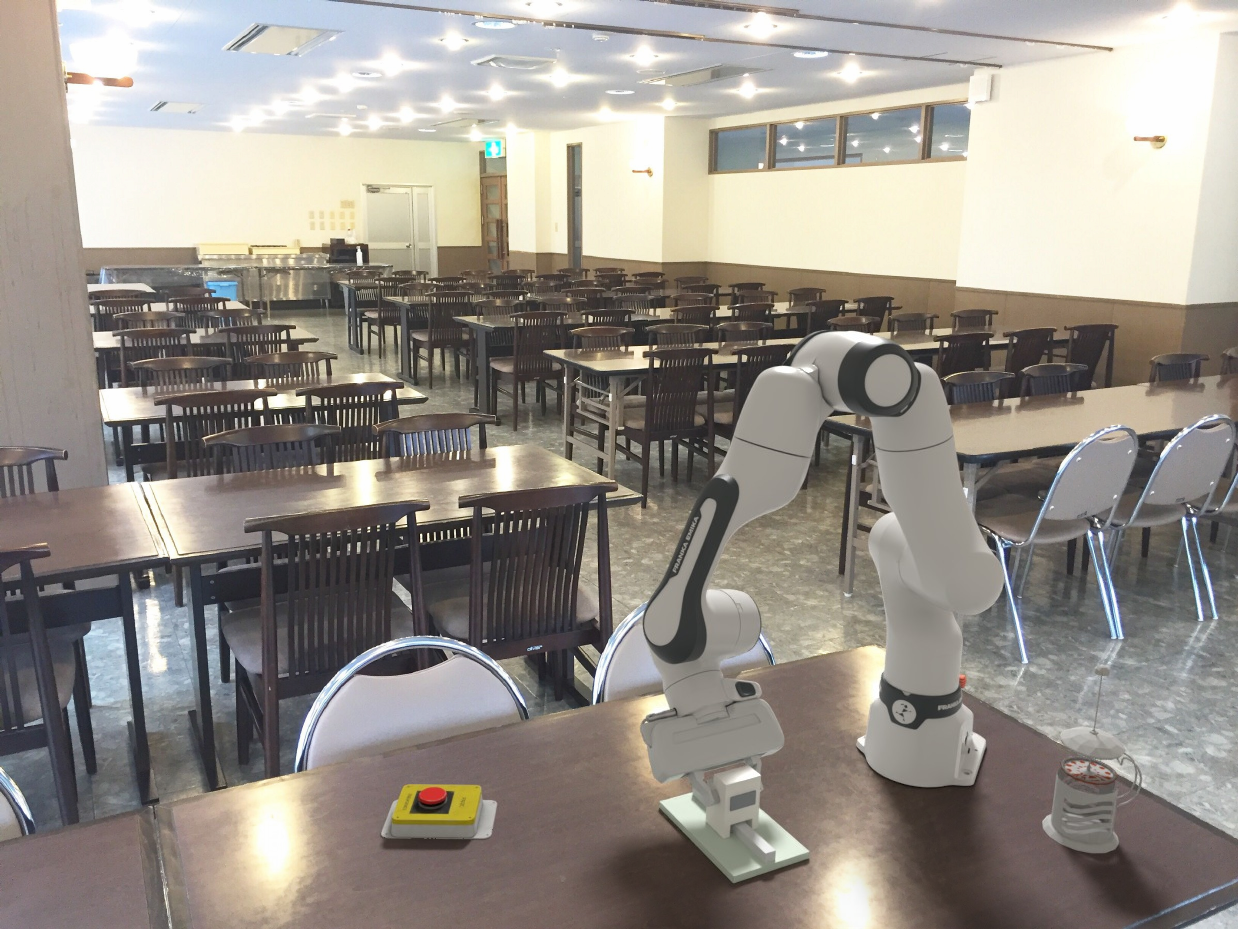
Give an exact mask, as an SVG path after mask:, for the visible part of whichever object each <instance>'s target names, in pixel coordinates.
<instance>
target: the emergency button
mask: <svg viewBox="0 0 1238 929" xmlns="http://www.w3.org/2000/svg"><path fill="white" fill-rule="evenodd" d="M482 794H483V791H482V786H480V785H478V784H431V783H430V784H428V783H427V784H425V783H424V784H421V783H420V784H419V783H414V784H413V783H412V784H411V783H410V784H405V785H403V787H402V789H401V791H400V794H399V796H398V799H396V800H394V801H393V802H392V803H391V806H390V809H389V811H388V814H387V816H386V819H385V822H384V824H383V827H382V829H381V832H380V835H381V836H380V837H382V838H384V837H385V838H384V839H411V838H424V839H425V840H426V839H427V838H429V839H430V840H431V838H433V839H434V840H435V838H436V839H437V840H439V839H440V840H441V839H442V840H487V839H489V838H491V836H492V835H493V834H492V833H493V830H492V829H494V824H495V818H496V814H497V813H496V812H497V807H498V802H497V801H496V800H493V799H492V800H491V799H483V795H482ZM463 838H464V839H463ZM429 839H427V840H429ZM433 839H432V840H433Z"/></svg>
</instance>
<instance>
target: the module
mask: <svg viewBox="0 0 1238 929" xmlns="http://www.w3.org/2000/svg"><path fill="white" fill-rule="evenodd" d="M761 778H762V775H761V773H760V774H759V773H757V772H756V771H755V770H754V769H752V768H751V767H750V766H749V765H743V766H740V767H735V768H732V769H728V770H724V771H721V772H717V773H714V774H713V777H710V778H707V779H706V780H707V783H706V784H707V785H708V786H709V788H710V789H711V790H713V789H717V791H718V796H719V797H720V803H718V804H716V805H713V806H710V807H707V806H706V822H707V823H708V824H709V825H710V826H711V827H712V828H713V829H714V830H715V831H716V832H717V833H718V834H719V835H720V836H721V837H722V838H723V839H725V838H728V837H730V825H732V824H735V823H739V822H742V821H744V822H745V823H746V824H747V825H749V826H750V827H751V828H752V829H753V830H754V829H757V828H758V819H759V808H760V802H761V801H760V799H761V798H760V797H761V792H760V783H761V782H762V779H761Z"/></svg>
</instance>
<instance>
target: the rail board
mask: <svg viewBox="0 0 1238 929" xmlns="http://www.w3.org/2000/svg"><path fill="white" fill-rule="evenodd" d="M691 791H692V792H688V793H685V794H681V795H677V796H675V797H670V798H666V799H664V800H662V799H661V800H659V804H658V805H659V809H660V810H661V811H662V812H663V813H664V815H666V816H667V817H668V818H669V819H670V820H671V821H672V823H674V824H675V825H676V826H677V827H678V828H679V829H680V830H681V831H682V833H684V834H685V835H686V836H687V838H689V840H691V842H692V843H693V844H694V845H695V846H696V847H697V848H698V849H699V850H700V851H701V852H702V853H703V854H704V855H705V856H706V857H707V858H708V859H709V860H710V861H711V862H712V863H713V864H714V866H716V867H717V868H718V869H719V871H720V872H722V873H723V874H724V876H726V878H728V880H729V881H730V882H731V883H733V884H736V883H738V882H742V881H745V880H747V879H751V878H753V877H757V876H760V875H762V874H766V873H769V872H772V871H775V870H778V869H781V868H784V867H787V866H789V865H793V864H796V863H800V862H802V861H805V860H808V859H810V850H809V849H807V847H805V846H804V845H803V844H802V843H800V842H799V841H798V840H797V839H796V838H795V837H794V836H792V835H791V834H790V833H789V832H788V831H787V830H785V829H784V828H783V827H782V826H781V825H780V824H779V823H778V822H776V821H775V820H774V819H773V818H772V817H771V816H770V815H769V814H767V813H766V811H764V810H762V809H761V808H760V807H759V819H758V828H757V829H754V830H753V829H752V828H751V827H750V826H749V825H747V824H746V823H745V822H744V821H742V822H739V823H735V824H732V825H730V837H728V838H725V839H723V838H722V837H721V836H720V835H719V834H718V833H717V832H716V831H715V830H714V829H713V828H712V827H711V826H710V825H709V824H708V823H707V822H706V804H705V801H704V798H703V796H702V795H701V794H700V793H699V792H698V791H697V790H696V789H695V788H693V787H692V790H691Z"/></svg>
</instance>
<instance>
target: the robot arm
mask: <svg viewBox="0 0 1238 929" xmlns="http://www.w3.org/2000/svg"><path fill="white" fill-rule="evenodd" d="M834 411H837V412H847V413H852V414H857V415H859V416H863V417H867V418H869V421H870V423H871V429H872V430H871V431H872V437H873V438H872V439H873V446H874V451H875V456H876V463H877V464H876V465H877V469H878V470H877V471H878V474H879V480H880V481H879V482H880V486H881V492H882V496H883V497H884V500H885V501H886V503H887V504H888V506H889V507H890V509H891V510H892V512H889V513H886V514H884V515H883V516H882V517H880V518H879V519H877V521H876V522H875V523H874V525H873V526H872V528H871V530H870V532H869V535H868V538H867V540H868V541H867V544H868V545H867V548H868V552H869V554H870V557H871V559H872V560H873V564H874V565H875V568H876V571H877V574H878V578H879V583H880V589H881V595H882V600H883V606H884V614H885V623H886V639H885V656H884V669H883V671H882V673H881V674H880V680H879V684H878V685H879V686H878V687H879V688H878V689H879V693H878V698H875V700H873V701H871V702H870V705H869V710H868V718H867V724H866V729H865V730H866V731H865V734H864V735H863V736H860V737H858V738H857V740H856V745H855V746H856V747H857V748H858V750H860V751H861V752H862V753H863V754H864V756H865V759H866V762H867V763H868V765H869V766H870V767H871V769H873V770H874V772H876V773H878V774H879V775H880V776H883V777H885V778H886V779H889V780H891V781H895V782H897V783H899V784H900V783H901V784H904V785H907V786H913V787H921V788H938V787H944V786H945V787H946V786H961V787H962V786H964V787H965V786H966V787H967V786H968V787H969V786H972V785H974V784H975V780H976V777H977V775H978V771H979V769H980V766H981V763H982V760H983V756H984V753H985V750H986V747H987V741H986V739H985V738H984V737H983V736H982V735H980V734H979V733H976V732H974V731H973V727H974V726H973V725H974V713H973V712H972V711H971V709H969V708H968V706H966V705H965V704H964V703H963V691H962V689H964V688H965V687H966V684H967V679H968V678H967V675H963V674H961V667H962V666H961V665H962V656H963V647H964V646H963V645H964V638H963V634H962V630H961V628H960V626H959V624H958V622H957V620H956V618H955V616H954V615H955V614H954V613H957V614H961V615H964V616H974V615H977V614H978V615H979V614H981V613H983V612H985V611H986V610H988V609H990V608H991V607H992V606H993V605H994V604H995V603H996V601H997V600H998V599H999V597H1000V596H1001V593H1002V591H1003V589H1004V588H1003V587H1004V585H1005V584H1004V583H1005V572H1004V569H1003V565H1002V563H1001V562H1000V560H999V559H998V558H997V556H996V555H995V554H994V552H993V551H992V550H991V548H990V547H989V545H988V543H987V542H986V540H985V538H984V536H983V534H982V532H981V530H980V527H979V525H978V522H977V521H976V517H975V516H974V513H973V511H972V509H971V506H970V503H969V501H968V498H967V495H966V493H965V489H964V487H963V482H962V479H961V473H960V467H959V462H958V461H959V460H958V455H957V449H956V443H955V436H954V429H953V423H952V416H951V413H950V408H949V404H948V402H947V397H946V395H945V392H944V389H943V386H942V382H941V381H940V378H939V376H938V373H937V372H936V371H935V370H934V369H933V368H932V367H930V366H929V365H927V364H925V363H922V362H916V361H914V360H913V357H912V356H911V355H910V354H909V353H908V351H907V350H906V349H905V348H903V346H902V345H900V344H898V343H897V342H895V341H893V340H892V339H889V338H888V337H887V338H886V337H884V336H883V337H882V336H876V335H872V334H869V333H866V332H861V331H855V330H848V331H838V330H834V329H833V330H832V329H824V330H818V331H814V332H812V333H809V334H808V335H805V336H804V337H803V338H802V339H801V340H799V341H798V343H797V344H796V345H795V346H794V347H793V349H792V350H791V352H790V354H789V356H788V357H787V358H786V359H785V361H784V362H782V364H781V365H779V366H772V367H770V368H767V369H765V370H763V371H762V372H761V373H760V374H759V375H758V376H757V377H756V379H755V380H754V382H753V385H752V387H751V388H750V391H749V393H748V395H747V397H746V399H745V402H744V404H743V407H742V409H741V412H740V414H739V417H738V420H737V423H736V426H735V429H734V433H733V436H732V439H731V442H730V446H729V448H728V449H727V453H726V455H725V457H724V459H723V461H722V463H721V464H720V466H719V468H718V470H717V471H716V473H715V474H714V475H713V477H712V478H711V479H709V481H707V482H706V483H705V485H703V487H702V489H701V490H700V492H699V495H698V496H697V498H696V500H695V502H694V505H693V506H692V509H691V512H690V513H689V515H688V518H687V520H686V523H685V525H684V528H683V530H682V532H681V535H680V537H679V540H678V542H677V545H676V546H675V550H674V552H673V555H672V557H671V559H670V560H669V564H668V567H667V569H666V571H665V574H664V576H663V577H662V579H661V581H660V583H659V585H658V586H657V587H656V589H655V590H654V592H653V593H652V594H651V597H650V598H649V600H648V602H647V604H646V606H645V609H644V610H643V612H642V613H643V614H642V631H643V635H644V638H645V641H646V645H647V648H648V651H649V654H650V655H649V656H650V657H651V660H652V662H653V666H654V668H655V669H656V670H657V672H658V674H660V678H661V680H662V690H663V693H664V696H665V699H666V702H667V704H668V708H669V709H666V710H663V711H660V712H656V713H655V712H654V713H649V714H647V715H646V716H645V718H644V719H642V721H641V723H640V726H639V730H640V735H641V737H642V741H643V742H644V744H645V745H646V750H647V755H648V756H647V757H648V761H649V765H650V771H651V772H652V776H653V779H655V780H656V781H657V782H658V783H660V784H666V783H669V782H670V783H671V782H674V781H678V780H681V779H685V778H688V781H689V785H690V786H691V787H692V789H693V788H695V789H696V790H697V791H698V792H699V793H700V794H701V795H702V796H703V798H704V801H705V804H706V806H707V807H710V806H713V805H716V804H718V803H720V797H719V796H718V791H717V789H713V790H711V789H710V788H709V786H708V785H707V783H706V782H705V781H704V780H703V779H705V777H706V776H705V773H707V772H711V771H715V770H718V769H721V768H726V767H729V766H733V765H737V764H740V763H744V764H745V765H744V766H746V765H749V766H750V767H751V768H752V769H754V770H755V771H756V772H757V773H759V774H760V775H761V771H762V760H761V758H763V757H766V756H770V755H774V754H776V753H777V752H778V751H780V750H781V749H782V748H783V747H784V744H785V735H784V732H783V730H782V728H781V725H780V722H779V720H778V719H777V717H776V715H775V713H774V711H773V709H772V707H771V706H770V704H769V703H768V702H767V701H766V700H764V699H762V698H760V697H761V695H762V694H763V691H762V689H761V685H760V684H759V683H758V682H756V681H750V680H743V679H736V678H730V677H724V675H723V672H722V669H721V663H722V662H723V661H725V660H728V659H731V658H732V659H733V658H735V657H738V656H739V657H740V656H741V655H744V654H747V653H748V652H751V650H752V649H753V648H755V647H756V645H757V644H758V642H759V639H760V637H761V632H762V625H763V624H762V615H761V612H760V609H759V607H758V605H757V603H756V601H755V600H754V598H752V597H751V595H750V594H748V593H747V592H746V591H743V590H736V589H733V588H732V589H730V588H710V589H709V587H710V585H711V582H712V579H713V577H714V576H715V575H714V574H715V572H716V570H717V567H718V565H719V562H720V560H721V557H722V555H723V553H724V550H725V548H726V546H727V544H728V542H729V540H730V539H731V537H732V536H733V535H734V534H735V533H736V532H737V531H738V530H739V529H740V528H742V527H743V526H745V525H746V524H747V523H750V522H751V521H753V520H755V519H757V518H760V517H762V516H764V515H767V514H769V513H773V512H776V511H778V510H779V509H781V508H783V507H785V506H786V505H788V504H789V503H790V502H792V501H793V500H794V499H795V498H796V496H797V495H798V493H799V492H800V490H801V487H802V485H803V484H804V481H805V479H806V477H807V473H808V470H809V466H810V463H811V460H812V456H813V453H814V448H815V445H816V441H817V437H818V433H819V431H820V430H821V429H820V428H821V427H822V425H823V423H824V422H825V420H826V419H828V417H829V416H830V415H831V414H832V413H834ZM762 791H764V785H763V782H762V781H761V783H760V793H761V792H762Z"/></svg>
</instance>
